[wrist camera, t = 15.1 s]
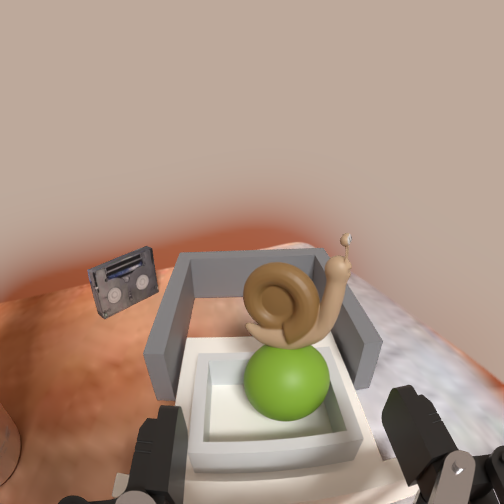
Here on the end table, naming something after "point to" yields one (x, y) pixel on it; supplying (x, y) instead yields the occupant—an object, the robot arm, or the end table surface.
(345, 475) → the tray
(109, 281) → the mini dv tape
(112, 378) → the end table surface
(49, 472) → the end table surface
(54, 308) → the end table surface
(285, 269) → the snail figurine
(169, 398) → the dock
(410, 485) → the robot arm
